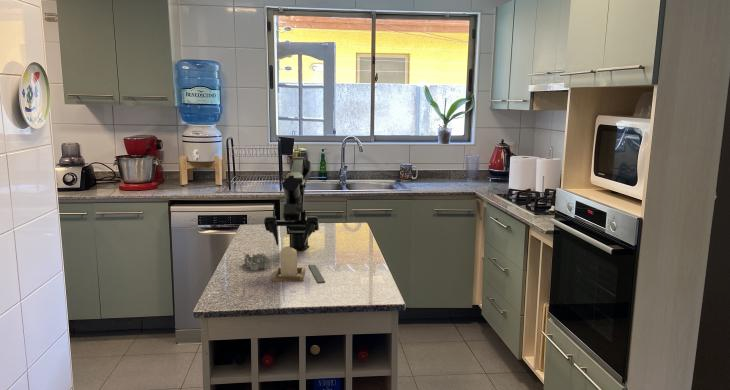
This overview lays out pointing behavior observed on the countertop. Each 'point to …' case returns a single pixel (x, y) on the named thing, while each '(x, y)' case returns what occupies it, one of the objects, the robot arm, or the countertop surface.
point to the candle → (288, 261)
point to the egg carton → (257, 261)
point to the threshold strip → (316, 274)
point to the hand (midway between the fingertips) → (290, 244)
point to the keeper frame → (287, 278)
